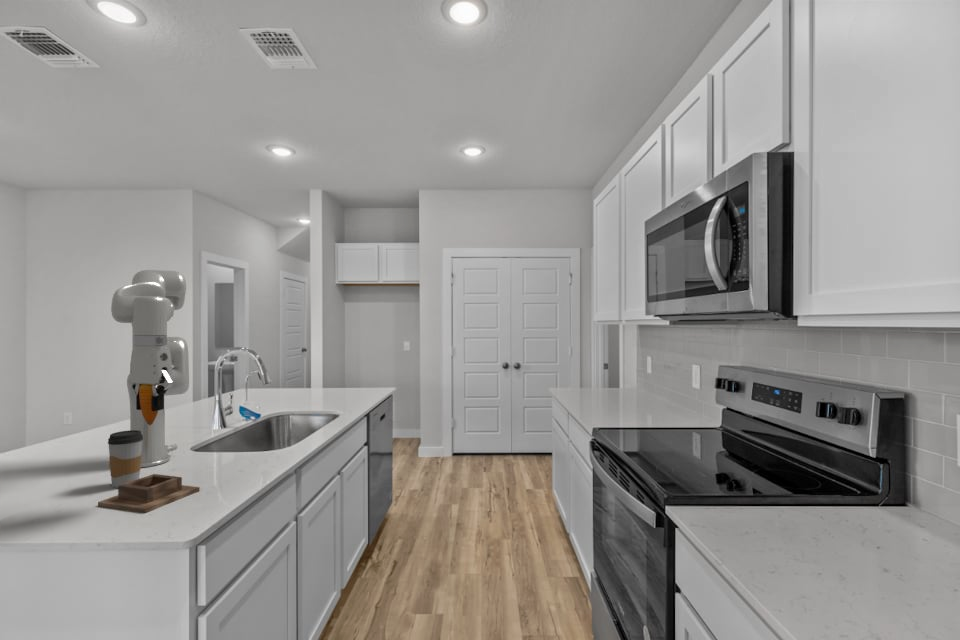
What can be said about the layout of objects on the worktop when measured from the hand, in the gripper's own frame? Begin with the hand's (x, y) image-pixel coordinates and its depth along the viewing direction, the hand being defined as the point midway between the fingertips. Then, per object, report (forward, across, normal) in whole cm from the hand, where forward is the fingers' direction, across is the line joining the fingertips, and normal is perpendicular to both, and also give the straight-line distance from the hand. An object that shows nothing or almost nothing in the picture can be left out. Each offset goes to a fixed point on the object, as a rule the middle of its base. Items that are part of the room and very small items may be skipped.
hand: (150, 408), depth 128 cm
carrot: (+5, 0, 0) cm, 5 cm away
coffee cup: (+24, +17, -6) cm, 30 cm away
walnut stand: (+24, 0, 0) cm, 24 cm away
